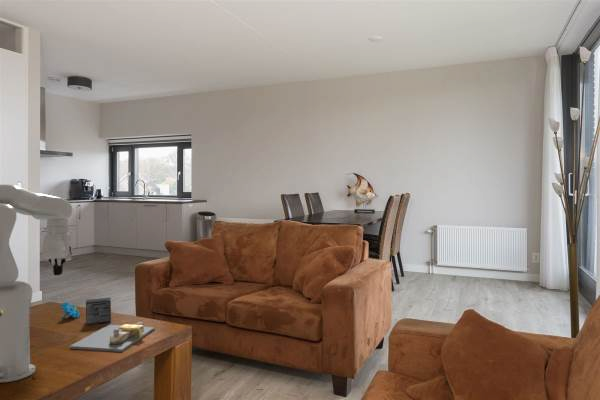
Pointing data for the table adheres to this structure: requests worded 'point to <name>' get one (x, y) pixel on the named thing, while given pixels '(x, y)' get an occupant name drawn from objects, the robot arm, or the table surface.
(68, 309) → the blue irregular piece
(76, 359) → the table surface
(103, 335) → the board
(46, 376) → the table surface
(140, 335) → the keeper
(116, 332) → the link
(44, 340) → the table surface
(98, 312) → the small box
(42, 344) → the table surface
